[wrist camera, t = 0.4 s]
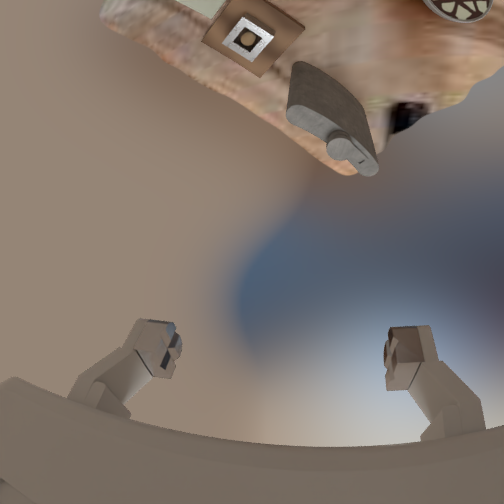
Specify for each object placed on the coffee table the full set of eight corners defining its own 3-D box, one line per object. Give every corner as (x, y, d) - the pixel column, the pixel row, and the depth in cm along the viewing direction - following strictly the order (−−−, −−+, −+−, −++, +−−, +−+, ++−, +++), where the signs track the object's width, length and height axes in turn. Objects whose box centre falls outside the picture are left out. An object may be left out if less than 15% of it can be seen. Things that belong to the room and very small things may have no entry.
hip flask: (288, 70, 48) (279, 126, 36) (302, 54, 45) (299, 104, 33) (356, 120, 53) (369, 191, 42) (370, 107, 50) (390, 176, 39)
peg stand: (244, -14, 36) (236, -10, 32) (305, 27, 40) (304, 35, 37) (204, 38, 44) (194, 48, 41) (261, 74, 49) (256, 87, 46)
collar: (247, 12, 38) (242, 16, 36) (276, 31, 40) (273, 37, 38) (227, 37, 42) (221, 43, 40) (255, 54, 44) (251, 62, 42)
